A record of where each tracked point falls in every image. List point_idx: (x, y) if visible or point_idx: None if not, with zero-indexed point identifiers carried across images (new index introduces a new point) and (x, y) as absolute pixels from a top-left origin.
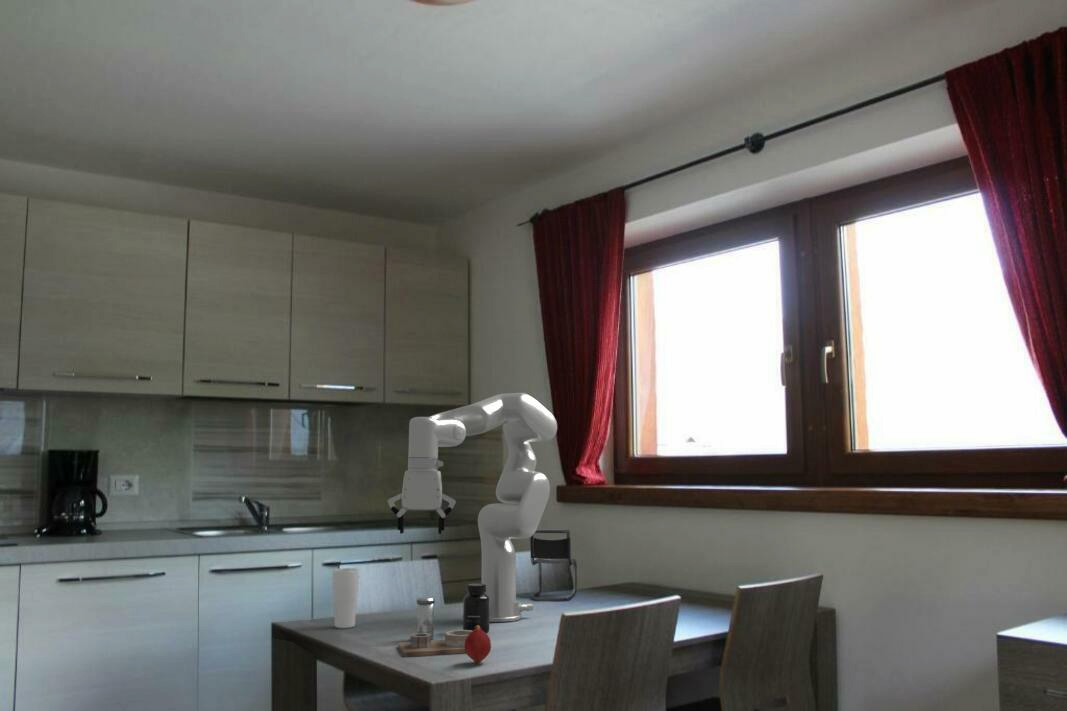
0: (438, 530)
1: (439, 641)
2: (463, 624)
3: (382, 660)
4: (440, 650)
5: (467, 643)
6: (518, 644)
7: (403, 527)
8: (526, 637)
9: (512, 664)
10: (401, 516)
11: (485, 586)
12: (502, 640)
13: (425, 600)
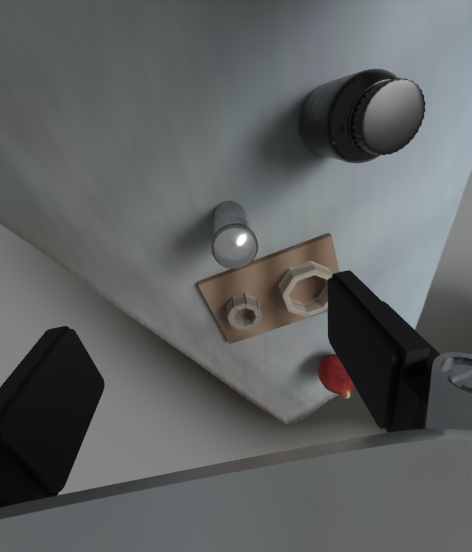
0: (336, 353)
1: (267, 271)
2: (305, 137)
3: (205, 357)
4: (278, 327)
5: (325, 387)
6: (398, 244)
7: (72, 384)
8: (427, 177)
9: None
10: (18, 503)
11: (418, 125)
12: (376, 211)
13: (239, 266)
